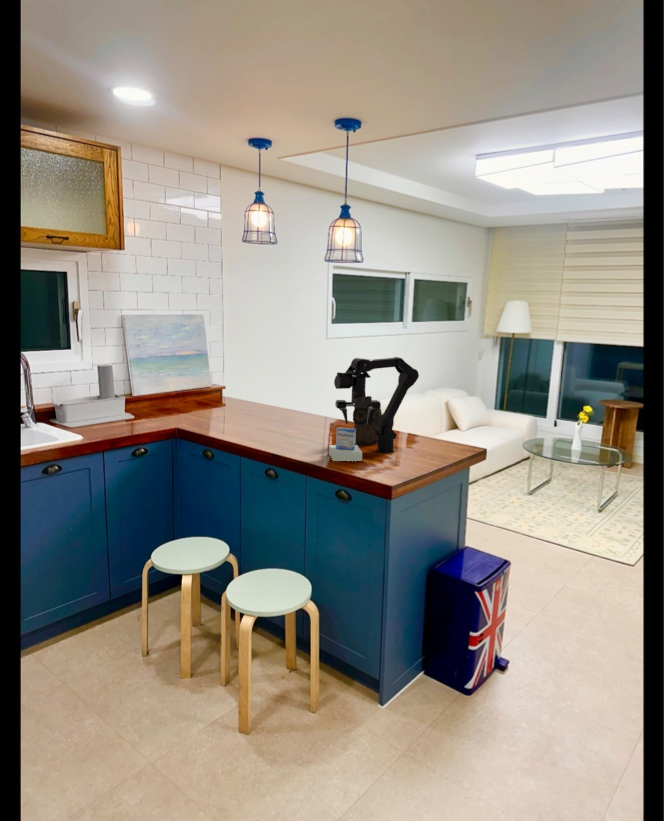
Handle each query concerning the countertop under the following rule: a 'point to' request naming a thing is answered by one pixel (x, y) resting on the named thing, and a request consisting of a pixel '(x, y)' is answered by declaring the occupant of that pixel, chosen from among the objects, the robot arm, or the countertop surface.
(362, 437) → the owl
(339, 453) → the mint block
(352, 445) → the medicine box
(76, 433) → the countertop surface
